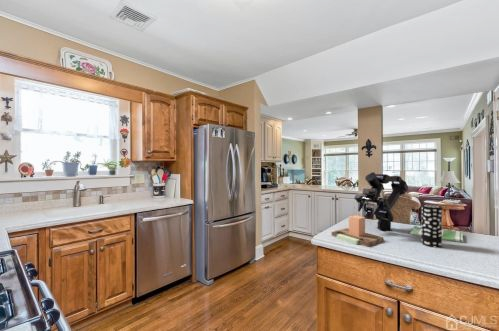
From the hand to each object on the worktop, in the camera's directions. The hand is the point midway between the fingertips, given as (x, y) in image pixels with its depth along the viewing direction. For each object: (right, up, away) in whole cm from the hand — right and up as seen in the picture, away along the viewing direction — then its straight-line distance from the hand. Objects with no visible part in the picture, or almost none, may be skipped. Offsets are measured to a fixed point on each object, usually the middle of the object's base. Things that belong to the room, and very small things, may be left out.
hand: (365, 212), depth 138 cm
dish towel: (+41, -14, 0) cm, 44 cm away
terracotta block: (-7, -12, -4) cm, 14 cm away
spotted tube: (+26, -14, -16) cm, 33 cm away
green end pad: (-14, -14, -9) cm, 21 cm away
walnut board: (-7, -14, -4) cm, 16 cm away
